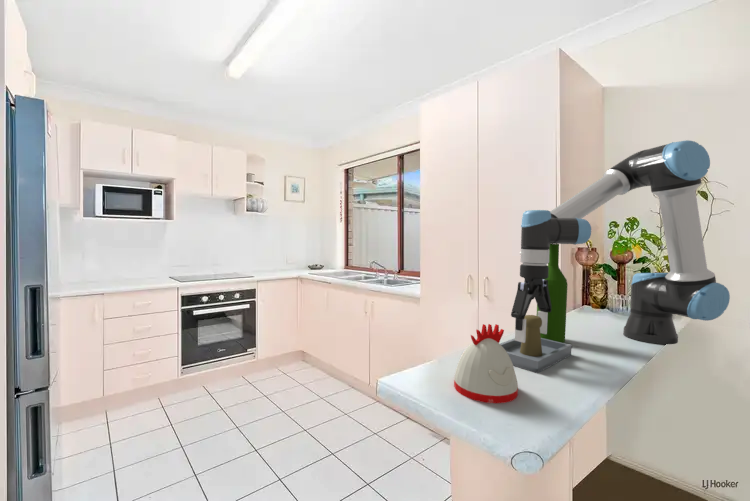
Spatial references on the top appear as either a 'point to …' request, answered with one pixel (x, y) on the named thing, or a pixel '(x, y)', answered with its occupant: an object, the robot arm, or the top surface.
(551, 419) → the top surface
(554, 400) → the top surface
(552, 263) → the wine bottle
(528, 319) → the cork
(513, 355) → the slate tray
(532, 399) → the top surface
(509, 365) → the kitchen timer
